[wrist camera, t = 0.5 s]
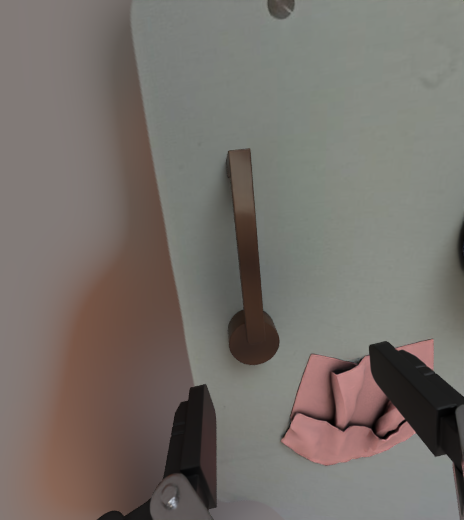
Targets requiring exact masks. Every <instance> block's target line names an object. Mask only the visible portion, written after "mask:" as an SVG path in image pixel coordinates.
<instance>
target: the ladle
mask: <svg viewBox="0 0 464 520" xmlns="http://www.w3.org/2000/svg"><path fill="white" fill-rule="evenodd" d="M226 165H227V174H228V178H230V184H231V193H232V203H233V212H234V222H235V232H236V241H237V251H238V260H239V270H240V280H241V289H242V299H243V309H244V310H242V311H240V312H238V313H237V314H235V315H234V316H233V318H232V319H231V321H230V323H229V326H228V337H229V348H230V351H231V353H232V355H233V356H234V357H235V358H236V359H237V360H238V361H240V362H242V363H244V364H248V365H257V364H262V363H264V362H266V361H268V360H270V359H271V358H272V357H273V356H274V355H275V353H276V352H277V350H278V347H279V336H278V333H277V330H276V328H275V326H274V323H273V321H272V319H271V317H270V316H269V315H268V314H267V313H266V312H264V311H263V303H262V291H261V278H260V265H259V253H258V240H257V228H256V215H255V203H254V190H253V178H252V165H251V152H250V148H248V149H239V150H230V151H228V154H227V158H226Z"/></svg>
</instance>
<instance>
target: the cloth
mask: <svg viewBox="0 0 464 520" xmlns="http://www.w3.org/2000/svg"><path fill="white" fill-rule="evenodd" d="M433 341H434V340H433V339H430V340H426V341H422V342H418V343H414V344H410V345H406V346H402V347H398V348H396V349H397V350H398V351H399V350H405V351H407V352H409V353H411V354H413V355H415V356H416V357H418V358H419V359H420V360H421V361H422V362H423V363H425V364H426V366H427V367H429V368H430V369H432V370H433V359H434V347H433ZM290 417H291V422H292V423H291V426H290V428H289V430H288V431H287V433H286V435H285V436H284V437H283V438H282V440H281V442H282V443H284V444H285V445H287V446H288V447H290V448H291V449H293V450H294V451H295V452H296V453H298V454H299V455H301V456H303V457H306V458H307V459H308V460H310V461H312V462H316V463H320V464H323V465H325V466H327V465H333V464H337V463H339V462H347V461H350V460H351V459H358V458H360V457H369V456H373V455H375V454H378V453H381V452H383V451H386V450H389V449H390V448H391V447H393V446H394V445H396V444H398V443H400V442H403V441H405V440H407V439H408V438H410V437H411V436H412V435H413V434H416V432H415V431H414V430H413V428H412V427H411V426H410V425H409V423H408V422H407V421H406V420H405V418H404V417H403V416H402V415H401V414H400V412H399V411H398V410H397V409H396V407H395V406H394V405H393V404H392V402H391V401H390V400H389V399H388V397H387V396H386V395H385V394H384V392H383V391H382V390H381V389H380V388H379V386H378V385H377V384H376V382H375V380H374V379H373V376H372V373H371V368H370V355H368V356H365V357H364V358H363V359H362V361H361V362H360V363H359V365H358V366H357V364H356V363H353V362H347V361H342V360H339V359H335V358H330V357H326V356H321V355H315V354H311V355H310V358H309V361H308V363H307V366H306V369H305V372H304V374H303V377H302V381H301V383H300V386H299V389H298V392H297V395H296V399H295V403H294V406H293V409H292V412H291V416H290Z"/></svg>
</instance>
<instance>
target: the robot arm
mask: <svg viewBox="0 0 464 520" xmlns="http://www.w3.org/2000/svg"><path fill="white" fill-rule="evenodd" d="M369 355H370V368H371V373H372V376H373V379H374V380H375V382H376V384H377V385H378V386H379V388H380V389H381V390H382V391H383V392H384V394H385V395H386V396H387V397H388V399H389V400H390V401H391V402H392V404H393V405H394V406H395V407H396V409H397V410H398V411H399V412H400V414H401V415H402V416H403V417H404V418H405V420H406V421H407V422H408V423H409V425H410V426H411V427H412V428H413V430H414V431H415V432H416V433H417V435H418V436H419V437H420V438H421V440H422V441H423V442H424V443H425V445H426V446H427V447H428V448H429V449H430V451H431V452H432V453H433V454H434V456H435V457H436V456H441V455H445V454H447V455H448V457H449V458H450V459H451V460H452V461H453V473H454V481H455V488H456V495H457V502H458V510H459V517H460V520H464V397H463V396H462V395H461V394H460V393H458V392H457V391H456V390H455V389H454V388H453V387H451V386H450V385H449V384H448V383H447V382H446V381H444V380H443V379H442V378H441V377H440V376H439V375H437V374H435V372H434V371H433V370H432V369H430V368H429V367H427V366H426V364H425V363H423V362H422V361H421V360H420V359H419V358H418V357H416V356H415V355H413V354H411V353H409V352H407V351H405V350H399V351H398V350H397V349H396V348H394V347H393V346H392V345H391V344H390V343H389V342H387V341H384V342H380V343H376V344H372V345H370V346H369ZM171 435H172V436H171V438H170V444H169V450H168V455H167V461H166V466H165V472H164V477H163V480H162V481H161V482H160V483H159V484H158V486H157V487H156V489H155V491H154V492H153V495H152V497H151V498H150V499H149V500H148V501H147V502H146V503H144V504H143V505H141V506H140V507H138V508H137V509H135V510H133V511H132V512H130V513H129V514H127V515H126V516H123V515H122V513H120V512H119V511H110V512H108V513H106V514H104V515H103V516H101V517H100V518H99V519H97V520H214V519H213V518H212V516H211V515H210V513H209V511H208V510H209V509H211V508H216V507H217V477H216V414H215V409H214V406H213V403H212V400H211V397H210V394H209V391H208V388H207V385H206V384H203V385H199V386H195V387H191V388H190V391H189V399H188V401H185V402H181V403H180V405H179V407H178V409H177V411H176V412H175V416H174V422H173V427H172V433H171Z"/></svg>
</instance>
